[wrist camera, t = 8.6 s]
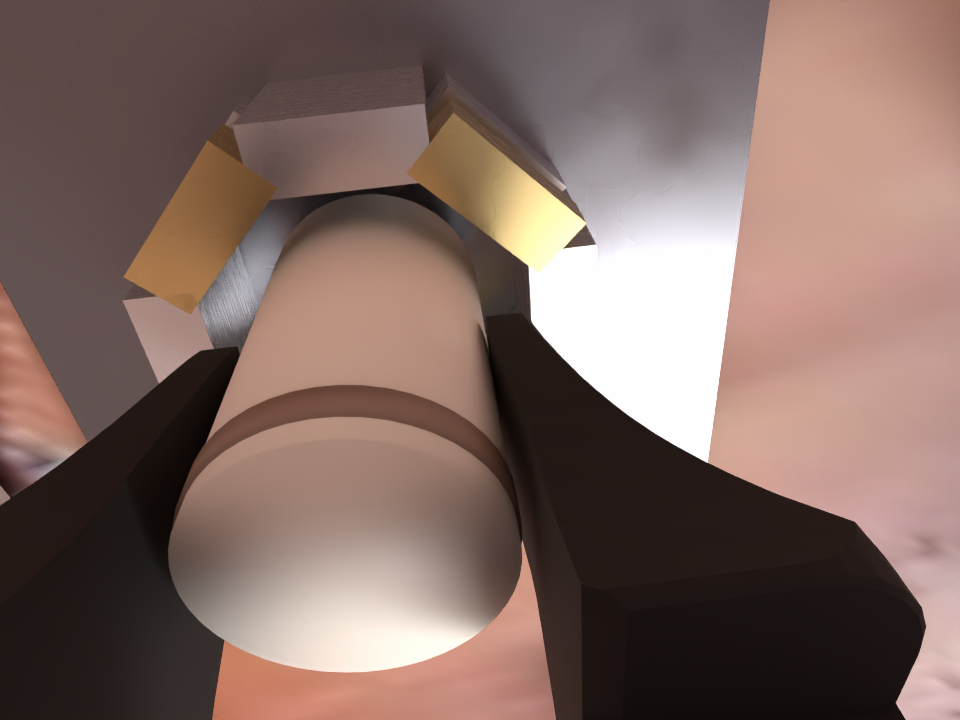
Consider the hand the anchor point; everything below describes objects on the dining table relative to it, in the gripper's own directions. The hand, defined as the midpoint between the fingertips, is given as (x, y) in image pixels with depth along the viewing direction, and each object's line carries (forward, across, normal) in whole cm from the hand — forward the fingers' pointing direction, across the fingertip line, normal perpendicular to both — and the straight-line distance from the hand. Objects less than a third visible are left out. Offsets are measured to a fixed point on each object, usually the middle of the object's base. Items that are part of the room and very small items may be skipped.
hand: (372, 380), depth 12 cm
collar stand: (+5, 0, 0) cm, 5 cm away
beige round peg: (+3, 0, 0) cm, 3 cm away
